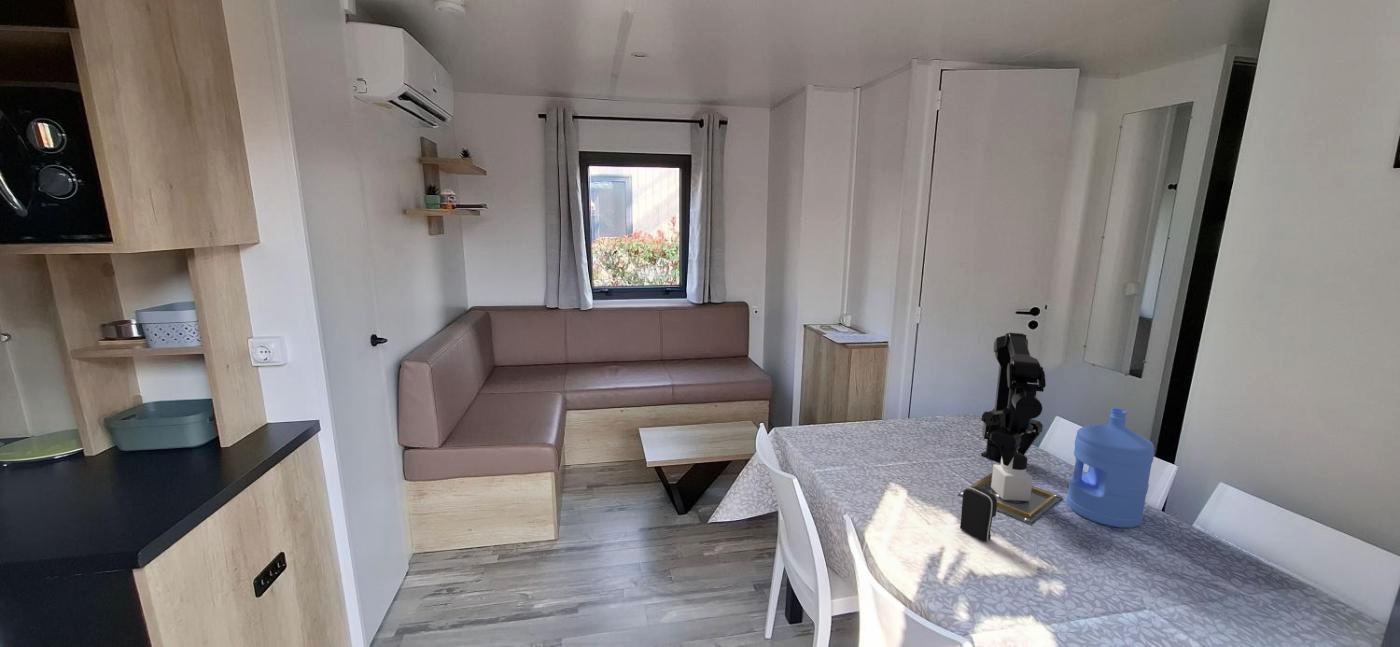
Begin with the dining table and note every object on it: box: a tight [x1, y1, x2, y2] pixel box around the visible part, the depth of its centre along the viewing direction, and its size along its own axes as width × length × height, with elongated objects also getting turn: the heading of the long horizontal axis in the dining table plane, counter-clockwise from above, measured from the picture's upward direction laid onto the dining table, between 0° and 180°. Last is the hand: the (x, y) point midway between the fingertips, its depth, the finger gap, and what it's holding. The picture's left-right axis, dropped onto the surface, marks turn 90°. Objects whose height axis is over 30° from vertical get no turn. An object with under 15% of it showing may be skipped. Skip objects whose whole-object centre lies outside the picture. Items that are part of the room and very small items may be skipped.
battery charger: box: [959, 486, 997, 543], centre depth 121 cm, size 7×4×11 cm, turn 28°
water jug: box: [1066, 408, 1155, 529], centre depth 130 cm, size 16×16×28 cm
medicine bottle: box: [991, 451, 1034, 501], centre depth 139 cm, size 7×7×12 cm
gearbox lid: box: [957, 472, 1063, 525], centre depth 140 cm, size 22×18×1 cm
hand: (1013, 460), depth 138 cm, fingers open, 9 cm apart
